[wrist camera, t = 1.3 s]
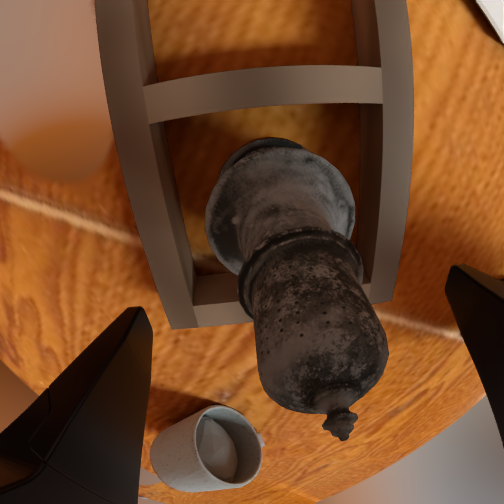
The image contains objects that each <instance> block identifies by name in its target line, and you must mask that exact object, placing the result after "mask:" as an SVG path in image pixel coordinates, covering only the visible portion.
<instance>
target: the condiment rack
mask: <svg viewBox="0 0 504 504" xmlns="http://www.w3.org/2000/svg"><path fill="white" fill-rule="evenodd" d="M351 6H352V14H353V22H354V31H355V40H356V51H357V64H358V66H343V65H298V66H276V67H262V68H251V69H241V70H232V71H224V72H217V73H210V74H203V75H197V76H191V77H186V78H180V79H175V80H170V81H165V82H161V83H158V81H157V75H156V68H155V61H154V53H153V45H152V37H151V29H150V20H149V11H148V1H147V0H95V11H96V23H97V33H98V42H99V51H100V58H101V66H102V73H103V79H104V85H105V91H106V97H107V103H108V108H109V114H110V119H111V124H112V129H113V134H114V139H115V143H116V148H117V152H118V157H119V161H120V165H121V169H122V173H123V177H124V181H125V185H126V189H127V193H128V197H129V201H130V204H131V208H132V211H133V215H134V219H135V222H136V225H137V229H138V232H139V236H140V239H141V242H142V245H143V249H144V252H145V255H146V258H147V261H148V264H149V267H150V270H151V273H152V276H153V279H154V282H155V285H156V288H157V291H158V294H159V296H160V299H161V302H162V305H163V308H164V310H165V313H166V316H167V318H168V321H169V324H170V326H171V329H185V328H197V327H209V326H219V325H229V324H239V323H248V322H254V320H253V319H252V318H250V317H249V316H248V315H247V314H246V313H245V311H244V309H243V308H242V306H241V305H240V303H239V298H238V294H237V282H238V275H236V274H234V273H232V272H231V273H222V274H213V275H205V276H197V275H196V271H195V267H194V263H193V259H192V255H191V250H190V246H189V242H188V238H187V233H186V229H185V225H184V220H183V216H182V211H181V206H180V202H179V197H178V192H177V188H176V183H175V178H174V173H173V168H172V163H171V157H170V152H169V147H168V141H167V136H166V130H165V125H164V121H167V120H172V119H177V118H183V117H188V116H194V115H201V114H207V113H214V112H221V111H228V110H236V109H245V108H255V107H265V106H277V105H292V104H312V103H360V194H359V215H358V231H357V244H356V249H357V251H358V252H359V254H360V256H361V260H362V264H363V279H362V283H361V286H362V288H363V290H364V292H365V294H366V296H367V298H368V300H369V302H370V304H371V305H372V304H377V303H383V302H388V301H392V297H393V293H394V288H395V283H396V278H397V273H398V268H399V263H400V257H401V251H402V245H403V239H404V232H405V225H406V218H407V210H408V201H409V192H410V181H411V169H412V154H413V130H414V84H413V62H412V47H411V36H410V27H409V18H408V10H407V3H406V0H351Z"/></svg>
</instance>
